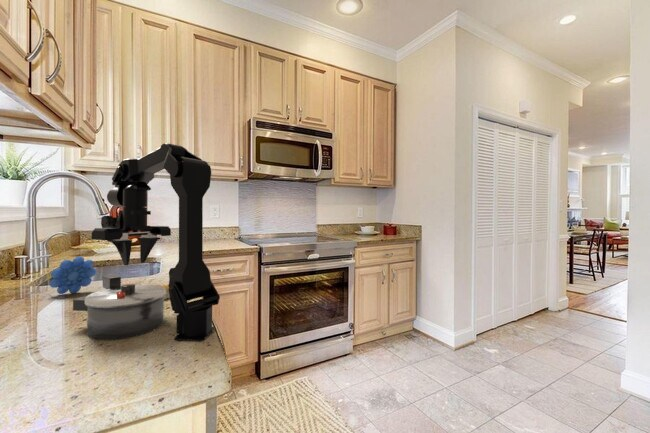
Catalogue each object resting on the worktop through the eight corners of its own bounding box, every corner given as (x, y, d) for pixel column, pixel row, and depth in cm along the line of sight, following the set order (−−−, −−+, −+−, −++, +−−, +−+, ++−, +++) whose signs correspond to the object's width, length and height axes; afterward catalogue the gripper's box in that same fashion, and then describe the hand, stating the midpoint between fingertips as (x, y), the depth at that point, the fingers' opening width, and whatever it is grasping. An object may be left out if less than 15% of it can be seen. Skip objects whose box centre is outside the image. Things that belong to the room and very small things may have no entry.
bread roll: (157, 293, 100) (158, 281, 100) (179, 295, 97) (179, 283, 97) (135, 299, 92) (136, 286, 92) (158, 302, 89) (158, 289, 89)
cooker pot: (175, 316, 77) (175, 291, 77) (137, 341, 62) (138, 309, 62) (102, 314, 78) (103, 289, 78) (48, 338, 63) (48, 307, 63)
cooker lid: (178, 296, 71) (178, 281, 71) (98, 313, 59) (99, 296, 59) (141, 282, 84) (141, 270, 84) (68, 294, 71) (68, 280, 71)
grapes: (95, 287, 104) (96, 254, 103) (96, 292, 98) (96, 256, 98) (50, 293, 96) (51, 256, 96) (48, 297, 91) (49, 259, 91)
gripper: (146, 207, 92) (145, 257, 92) (77, 205, 75) (77, 266, 75) (172, 208, 88) (171, 259, 88) (106, 206, 71) (106, 270, 71)
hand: (134, 263), depth 81 cm, fingers open, 4 cm apart
